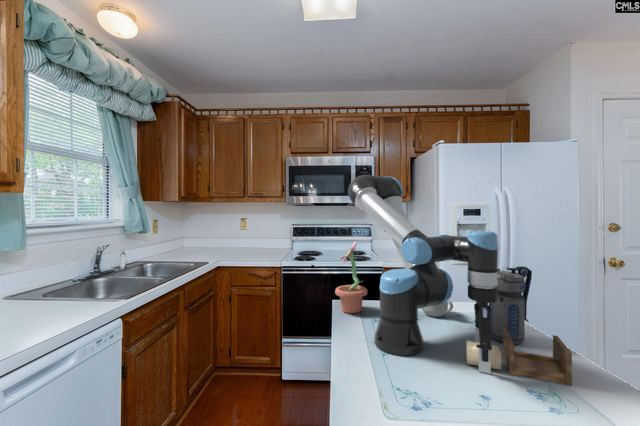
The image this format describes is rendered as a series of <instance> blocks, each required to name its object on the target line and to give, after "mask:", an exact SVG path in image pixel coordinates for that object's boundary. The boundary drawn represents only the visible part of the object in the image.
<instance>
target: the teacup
mask: <svg viewBox="0 0 640 426" xmlns="http://www.w3.org/2000/svg"><path fill="white" fill-rule="evenodd" d="M420 309H421V310H422V312H423V313H424V314H425V315H427V316H429V317H430V316H431V317H435V318H437V317H438V318H439V317H443V316H445V315H446V314H447V313H449V312H451V311H452V310H453V309H454V304H453V302H452V301H451V300H450V299H449V300H448V301H446V302H444V303H441V304H439V305H436V306H435V305H434V306H429V307H425V308H420Z"/></svg>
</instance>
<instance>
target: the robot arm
mask: <svg viewBox="0 0 640 426" xmlns="http://www.w3.org/2000/svg"><path fill="white" fill-rule="evenodd" d="M403 192H404V188H403V185H402V183H401V182H400V180H398V178H395V177H392V176H388V175H383V176H380V175H372V174H371V175H369V174H362V175H357V176H356V177H355V178H354V179H352V181H350V184H349V186H348V190H347V193H348V198H349V200H350V201H351V203H352V205H354V206H355V207H356V208H357V209H358V210H361V211H364V212H365V214H366V215H368V216H369V217H370V218H371V219H372V220H373V221H374V222H375V223H376V224H377V225H378V226H379V227H380V228H381V229H382V230H383V231H384V232H385V233H386V234H387V235H388V236H389V237H391V239H392V242H393V243H394V247H395V248H396V251H397V253H398V255H399V257H400V258H401V261H402V264H403V265H404V268H394V269H389V270H386V271H384V272H383V273H382V274H381V276H380V281H379V282H380V283H379V321H378V323H377V327H376V330H375V333H374V344H375V346H376V347H377V348H378V349H379V350H381V351H382V352H384V353H388V354H391V355H397V356H414V355H417V354H420V353H422V351H423V350H424V338H423V335H422V331H421V329H420V325H419V323H418V322H419V321H418V320H419V319H418V315H419V313H418V310H419V309H421V308H425V307H429V306H434V305H435V306H436V305H439V304H441V303H444V302H446V301H448V300H449V301H450V298H451V297H452V295H453V291H454V284H453V280H452V278H451V276H450V274H449V273H448V272H447V270H444V269H441V268H439V267H438V265H437V264H436V263H437V262H446V261H458V262H463V263H467V283H468V285H467V297H468V298H469V299H470V300H472V301H474V302H475V303H474V304H473V307H474V308H473V309H474V315H475V316H474V324H475V325H474V327H475V329H474V330H475V331H474V332H475V333H474V334H475V335H474V336H475V337H474V338H475V340H474V342H477V343H480V344H479V345H477V348H479V366H478V372H479V373H485V374H488V375H489V374H490V375H491V374H492V373H491V372H492V371H491V370H492V368H491V350H492V346H491V345H492V337H491V326H490V323H491V316H490V315H491V308H490V305H489V303H490V302H492V303H493V302H496V301H497V300H498V289H497V288H496V286H497V285H498V280H497V278H500V275H497V274H498V269H499V267H498V265H499V263H498V259H499V258H498V257H499V249H500V248H499V243H498V242H499V241H498V240H499V239H498V235H497V233H496V232H495V231H491V230H490V231H487V230H470V231H468V232H467V236H458V235H457V236H456V235H449V234H438V235H435V236H427V235H425V234H424V233H423V232H422V231H421V230H419V229H418V228H417V227H416V226H415V225H413V224H412V223H411V222H410V220H409V218H408V216H407V214H406V212H405V210H404V208H403V206H402V204H403V196H404V193H403ZM483 343H484V344H483Z"/></svg>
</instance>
